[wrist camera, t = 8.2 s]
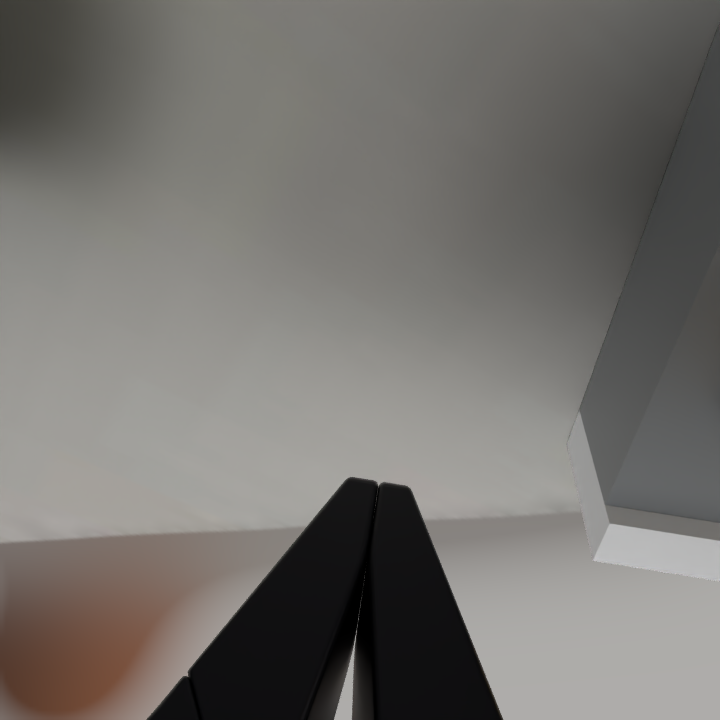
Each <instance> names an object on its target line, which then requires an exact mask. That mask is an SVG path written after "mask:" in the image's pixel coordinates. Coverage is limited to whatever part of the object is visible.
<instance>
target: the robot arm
mask: <svg viewBox="0 0 720 720" xmlns="http://www.w3.org/2000/svg"><path fill="white" fill-rule="evenodd" d="M377 491H378V493H377ZM376 498H377V500H376ZM375 505H376V506H375ZM373 518H374V519H373ZM365 571H366V572H365ZM364 578H365V579H364ZM363 584H364V585H363ZM362 591H363V592H362ZM361 598H362V599H361ZM360 604H361V606H360ZM359 611H360V613H359ZM358 617H359V620H358ZM357 624H358V626H357ZM356 630H357V635H356ZM355 635H356V643H355V654H354V674H353V705H352V720H503V718H502V715H501V713H500V710H499V708H498V705H497V703H496V700H495V698H494V695H493V693H492V690H491V688H490V685H489V683H488V681H487V678H486V675H485V673H484V671H483V668H482V665H481V663H480V660H479V658H478V655H477V653H476V650H475V648H474V645H473V643H472V640H471V638H470V635H469V633H468V630H467V628H466V625H465V623H464V620H463V618H462V616H461V613H460V610H459V608H458V606H457V603H456V600H455V598H454V596H453V593H452V590H451V588H450V585H449V583H448V580H447V578H446V575H445V573H444V570H443V568H442V565H441V563H440V560H439V558H438V555H437V553H436V551H435V548H434V545H433V543H432V540H431V538H430V535H429V533H428V530H427V528H426V525H425V523H424V520H423V518H422V515H421V513H420V510H419V508H418V505H417V503H416V500H415V498H414V495H413V493H412V491H411V489H410V488H409V487H408V486H405V485H399V484H392V483H386V482H383V483H381V484H380V485H379V487H378V484H377V482H376V481H374V480H368V479H362V478H355V477H350V478H348V479H346V480H345V481H344V482H343V484H342V485H341V486H340V487H339V488H338V490H337V491H336V492H335V493H334V495H333V496H332V497H331V498H330V499H329V501H328V502H327V503H326V504H325V505H324V507H323V508H322V509H321V510H320V511H319V513H318V514H317V515H316V516H315V518H314V519H313V520H312V521H311V522H310V524H309V525H308V526H307V527H306V528H305V530H304V531H303V532H302V533H301V535H300V536H299V537H298V538H297V540H296V541H295V542H294V543H293V544H292V545H291V547H290V548H289V549H288V550H287V551H286V553H285V554H284V555H283V556H282V557H281V559H280V560H279V561H278V562H277V564H276V565H275V566H274V567H273V568H272V570H271V571H270V572H269V573H268V574H267V576H266V577H265V578H264V579H263V580H262V582H261V583H260V584H259V585H258V587H257V588H256V589H255V590H254V592H253V593H252V594H251V595H250V596H249V597H248V599H247V600H246V601H245V602H244V603H243V605H242V606H241V607H240V609H239V610H238V611H237V612H236V613H235V614H234V616H233V617H232V618H231V619H230V620H229V622H228V623H227V624H226V626H224V628H223V629H222V630H221V631H220V633H219V634H218V635H217V636H216V637H215V639H214V640H213V641H212V643H210V645H209V646H208V647H207V648H206V649H205V651H204V652H203V653H202V654H201V656H200V657H199V658H198V659H197V660H196V662H195V663H194V664H193V665H192V667H191V668H190V669H189V670H188V677H187V676H183V677H182V678H181V679H180V680H179V682H178V683H177V684H176V685H175V687H174V688H173V689H172V690H171V691H170V693H169V694H168V695H167V696H166V697H165V699H164V700H163V701H162V702H161V704H160V705H159V706H158V707H157V708H156V709H155V710H154V712H153V713H152V714H151V715H150V716H149V717H148V718H147V720H334V717H335V713H336V710H337V706H338V703H339V699H340V695H341V692H342V688H343V685H344V681H345V678H346V673H347V670H348V667H349V663H350V659H351V655H352V651H353V646H354V641H355Z"/></svg>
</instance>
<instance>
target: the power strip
mask: <svg viewBox="0 0 720 720" xmlns="http://www.w3.org/2000/svg"><path fill="white" fill-rule="evenodd" d="M567 447H568V452H569V456H570V461H571V465H572V470H573V474H574V479H575V483H576V488H577V492H578V497H579V501H580V506H581V510H582V515H583V519H584V523H585V528H586V533H587V537H588V541H589V546H590V551H591V555H592V560H593V561H598V562H604V563H610V564H617V565H623V566H629V567H635V568H641V569H647V570H653V571H659V572H666V573H672V574H678V575H685V576H690V577H696V578H702V579H708V580H714V581H720V23H719V25H718V28H717V31H716V34H715V36H714V39H713V42H712V45H711V47H710V50H709V53H708V56H707V59H706V61H705V64H704V67H703V70H702V72H701V75H700V78H699V81H698V83H697V86H696V89H695V92H694V94H693V97H692V100H691V103H690V105H689V108H688V111H687V114H686V117H685V119H684V122H683V125H682V128H681V130H680V133H679V136H678V139H677V141H676V144H675V147H674V150H673V152H672V155H671V158H670V161H669V163H668V166H667V169H666V172H665V175H664V177H663V180H662V183H661V186H660V188H659V191H658V194H657V197H656V199H655V202H654V205H653V208H652V210H651V213H650V216H649V219H648V221H647V224H646V227H645V230H644V232H643V235H642V238H641V241H640V244H639V246H638V249H637V252H636V255H635V257H634V260H633V263H632V266H631V268H630V271H629V274H628V277H627V279H626V282H625V285H624V288H623V290H622V293H621V296H620V299H619V302H618V304H617V307H616V310H615V313H614V315H613V318H612V321H611V324H610V326H609V329H608V332H607V335H606V337H605V340H604V343H603V346H602V348H601V351H600V354H599V357H598V360H597V362H596V365H595V368H594V371H593V373H592V376H591V379H590V382H589V384H588V387H587V390H586V393H585V395H584V398H583V401H582V404H581V406H580V409H579V412H578V415H577V418H576V420H575V423H574V426H573V429H572V431H571V434H570V437H569V440H568V442H567Z"/></svg>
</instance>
